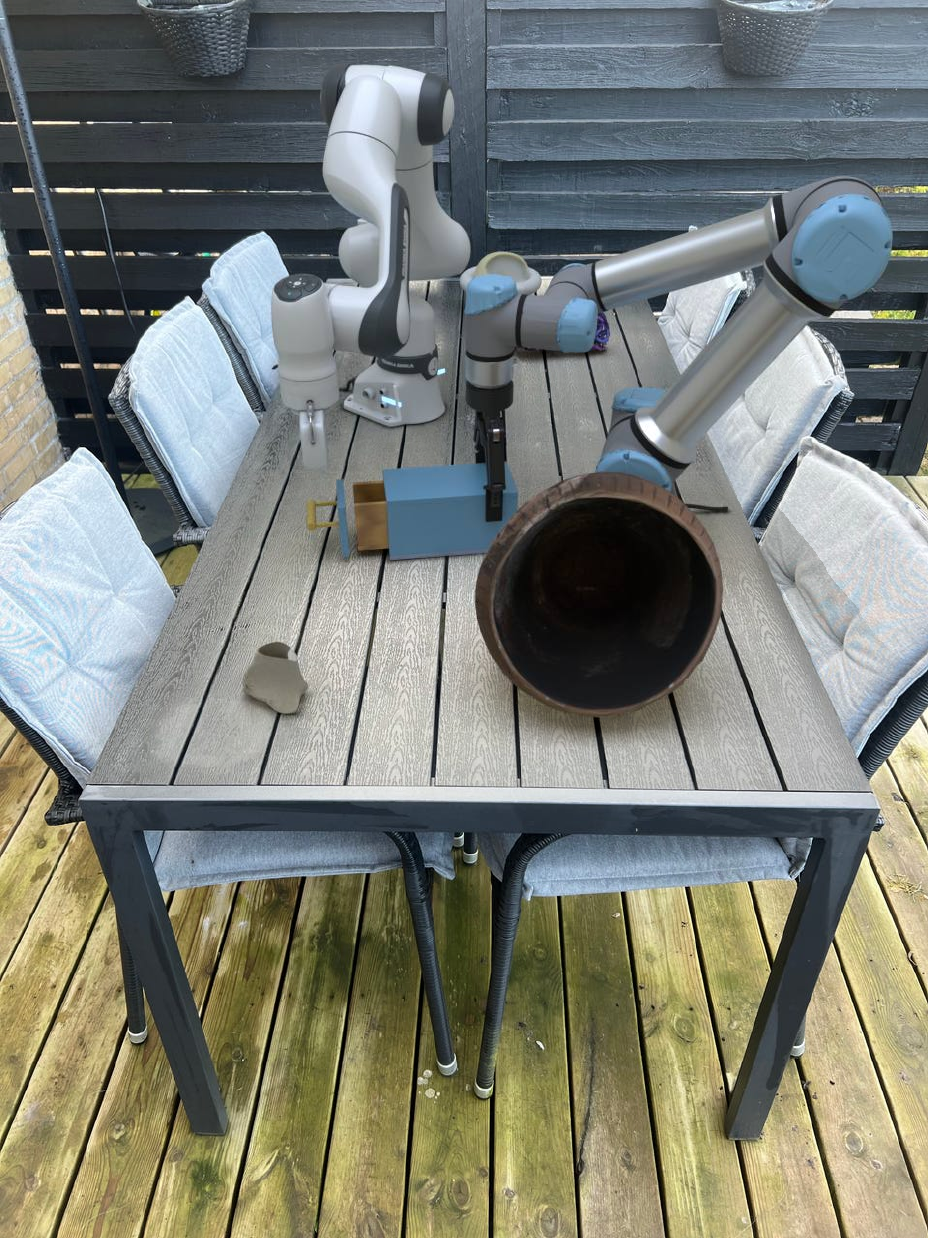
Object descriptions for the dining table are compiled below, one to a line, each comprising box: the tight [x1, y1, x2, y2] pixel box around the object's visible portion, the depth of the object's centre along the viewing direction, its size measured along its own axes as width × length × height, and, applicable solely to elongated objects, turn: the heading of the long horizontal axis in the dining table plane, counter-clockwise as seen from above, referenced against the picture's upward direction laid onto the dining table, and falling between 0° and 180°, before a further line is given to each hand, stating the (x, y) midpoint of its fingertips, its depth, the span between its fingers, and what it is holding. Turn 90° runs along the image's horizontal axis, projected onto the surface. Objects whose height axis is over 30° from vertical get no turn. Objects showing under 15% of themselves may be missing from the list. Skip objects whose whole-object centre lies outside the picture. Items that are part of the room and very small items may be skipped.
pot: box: [474, 471, 724, 718], centre depth 130 cm, size 32×32×30 cm
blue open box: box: [381, 461, 519, 561], centre depth 158 cm, size 22×11×11 cm, turn 98°
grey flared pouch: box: [241, 641, 309, 715], centre depth 126 cm, size 9×8×10 cm
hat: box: [459, 251, 543, 295], centre depth 248 cm, size 25×22×15 cm
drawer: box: [306, 478, 389, 558], centre depth 157 cm, size 25×10×9 cm, turn 98°
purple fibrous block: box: [514, 312, 611, 354], centre depth 226 cm, size 13×11×30 cm
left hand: (319, 469), depth 150 cm, fingers closed
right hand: (488, 502), depth 158 cm, fingers closed on blue open box, 11 cm apart
